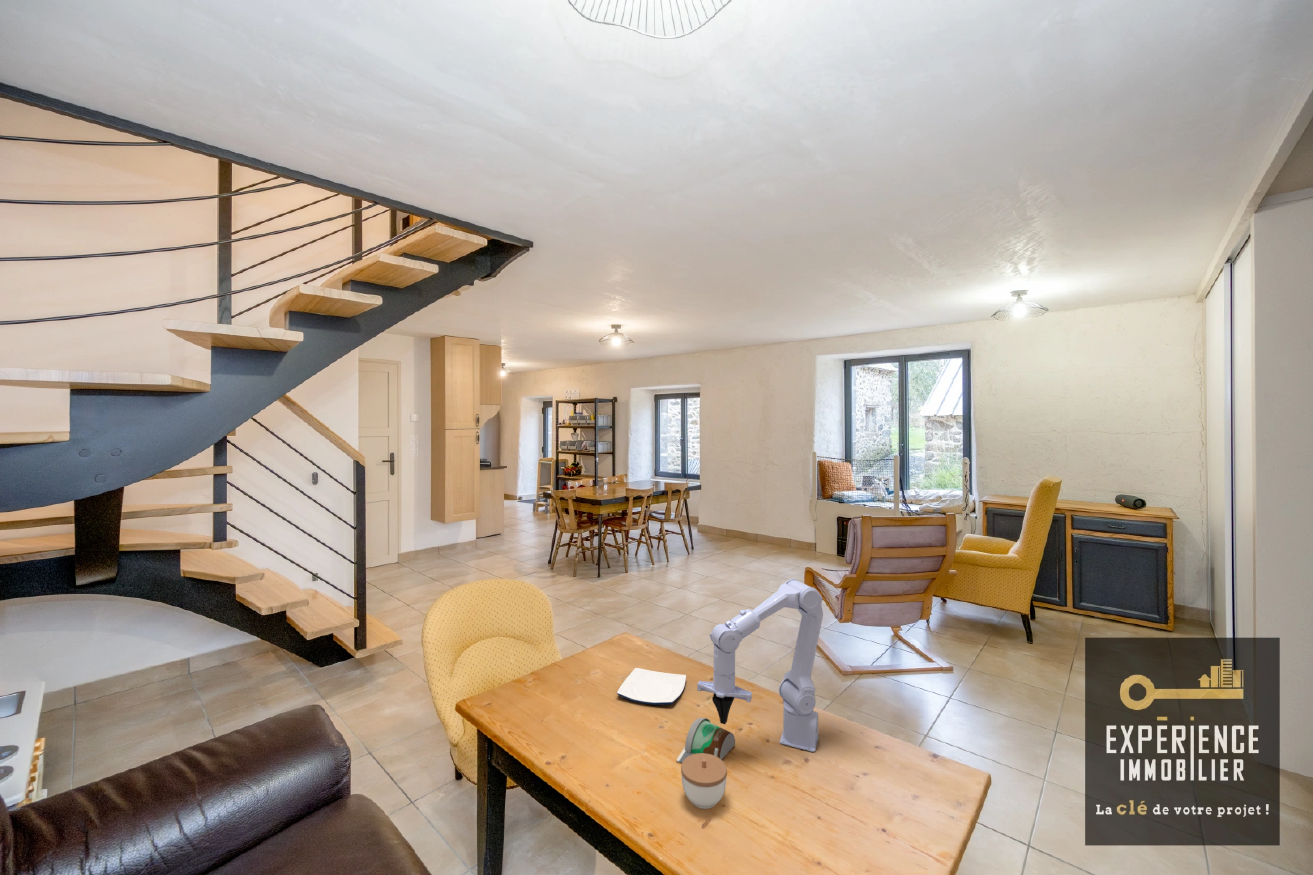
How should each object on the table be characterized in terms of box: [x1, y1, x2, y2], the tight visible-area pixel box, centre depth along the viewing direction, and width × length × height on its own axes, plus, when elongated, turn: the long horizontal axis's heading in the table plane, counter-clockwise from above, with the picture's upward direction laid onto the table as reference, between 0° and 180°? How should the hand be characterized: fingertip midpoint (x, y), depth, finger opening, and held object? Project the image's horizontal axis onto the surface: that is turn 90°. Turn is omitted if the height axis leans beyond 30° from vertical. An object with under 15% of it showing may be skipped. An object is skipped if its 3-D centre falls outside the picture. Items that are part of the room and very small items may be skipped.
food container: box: [684, 717, 736, 761], centre depth 141 cm, size 12×6×10 cm
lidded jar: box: [680, 753, 728, 810], centre depth 122 cm, size 11×11×9 cm
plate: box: [616, 667, 687, 706], centre depth 172 cm, size 20×20×3 cm
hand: (723, 721), depth 138 cm, fingers closed
